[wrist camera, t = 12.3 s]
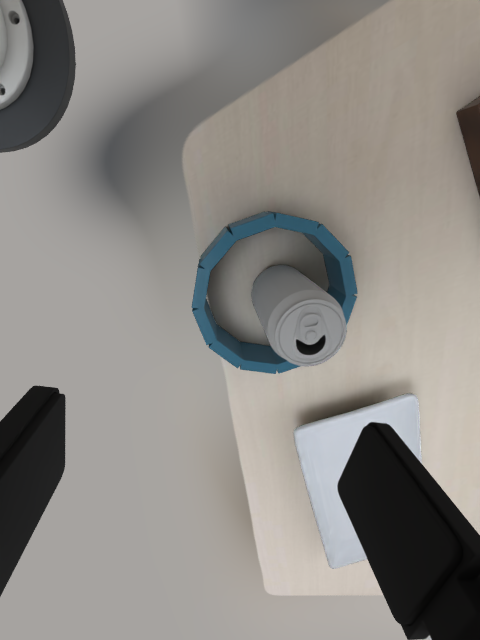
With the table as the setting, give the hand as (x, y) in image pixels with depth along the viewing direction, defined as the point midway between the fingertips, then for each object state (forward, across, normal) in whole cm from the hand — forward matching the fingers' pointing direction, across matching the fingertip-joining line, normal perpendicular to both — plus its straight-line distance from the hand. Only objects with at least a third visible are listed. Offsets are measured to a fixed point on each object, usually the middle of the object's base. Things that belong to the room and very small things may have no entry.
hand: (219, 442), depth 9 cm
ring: (+25, -7, +1) cm, 26 cm away
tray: (+24, -28, +28) cm, 46 cm away
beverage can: (+25, -8, +1) cm, 26 cm away
